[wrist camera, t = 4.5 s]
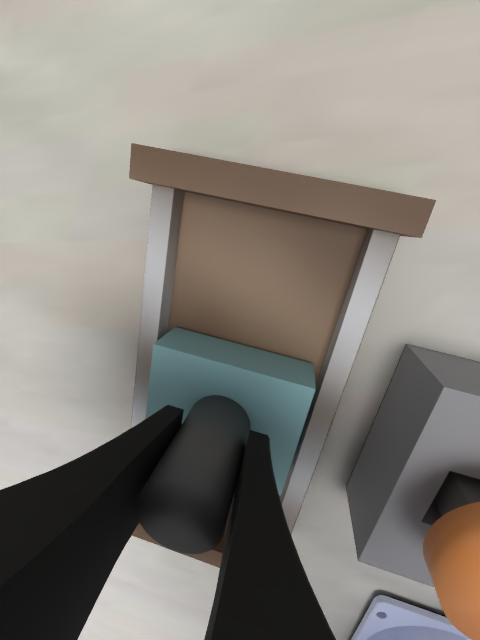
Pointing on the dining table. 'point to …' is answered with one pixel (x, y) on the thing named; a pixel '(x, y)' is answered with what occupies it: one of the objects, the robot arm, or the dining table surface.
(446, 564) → the button
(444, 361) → the grey rectangular block
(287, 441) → the blue block with peg
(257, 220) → the rail board
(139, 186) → the dining table surface
